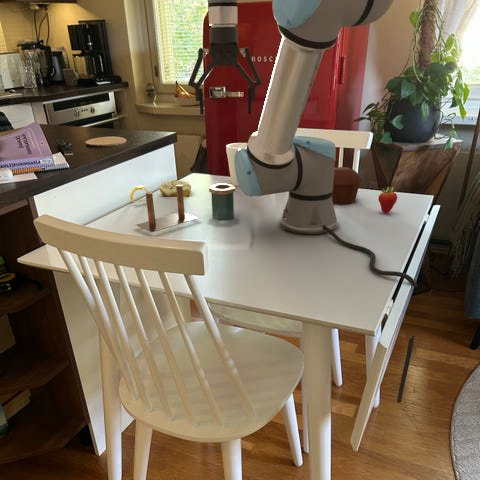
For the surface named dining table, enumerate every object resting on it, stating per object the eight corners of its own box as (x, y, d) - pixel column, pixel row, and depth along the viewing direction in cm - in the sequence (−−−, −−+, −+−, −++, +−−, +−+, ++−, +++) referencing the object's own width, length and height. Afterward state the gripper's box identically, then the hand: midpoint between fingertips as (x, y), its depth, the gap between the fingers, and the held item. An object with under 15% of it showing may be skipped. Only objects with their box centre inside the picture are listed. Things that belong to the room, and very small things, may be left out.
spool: (236, 217, 140) (235, 183, 135) (235, 225, 134) (234, 190, 129) (212, 217, 140) (210, 183, 135) (209, 226, 134) (208, 190, 129)
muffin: (365, 199, 153) (369, 167, 148) (348, 208, 146) (351, 174, 141) (334, 193, 160) (336, 162, 155) (315, 200, 153) (317, 169, 148)
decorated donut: (167, 201, 155) (166, 189, 153) (155, 193, 163) (154, 182, 161) (196, 195, 160) (195, 184, 158) (183, 188, 168) (182, 177, 166)
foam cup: (255, 180, 175) (255, 143, 169) (250, 187, 168) (250, 148, 161) (230, 179, 177) (229, 142, 171) (224, 186, 170) (223, 147, 163)
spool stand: (181, 216, 142) (179, 180, 136) (199, 222, 137) (196, 186, 131) (135, 230, 132) (130, 192, 127) (152, 237, 127) (147, 198, 122)
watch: (133, 207, 150) (131, 188, 146) (130, 205, 152) (128, 186, 149) (151, 204, 152) (149, 186, 149) (148, 202, 154) (146, 184, 151)
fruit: (384, 209, 145) (388, 182, 140) (398, 213, 141) (403, 186, 137) (373, 212, 142) (376, 185, 138) (386, 217, 138) (390, 189, 134)
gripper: (270, 25, 129) (269, 111, 139) (178, 27, 129) (184, 112, 140) (271, 25, 122) (269, 114, 133) (174, 27, 123) (180, 116, 134)
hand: (225, 113), depth 137 cm, fingers open, 13 cm apart
